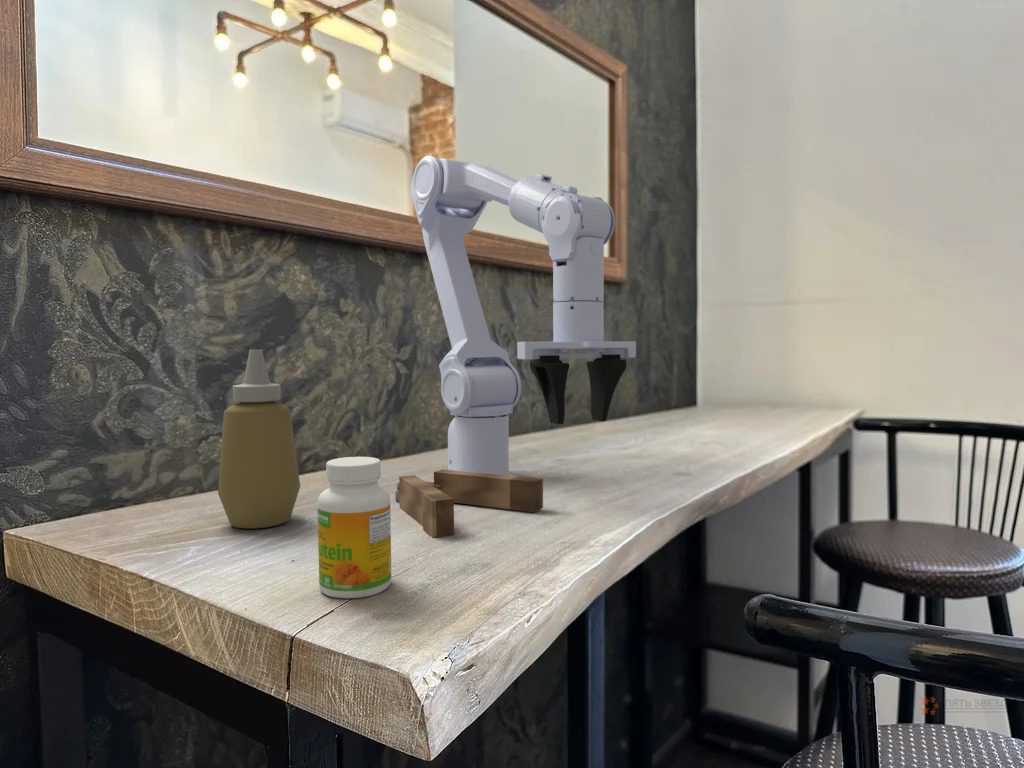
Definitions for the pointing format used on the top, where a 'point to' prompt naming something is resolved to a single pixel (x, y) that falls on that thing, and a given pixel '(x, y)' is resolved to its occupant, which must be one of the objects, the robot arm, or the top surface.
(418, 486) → the brown wooden block
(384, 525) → the supplement bottle
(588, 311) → the robot arm
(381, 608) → the top surface
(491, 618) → the top surface
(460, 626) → the top surface
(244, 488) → the squeeze bottle
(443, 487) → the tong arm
